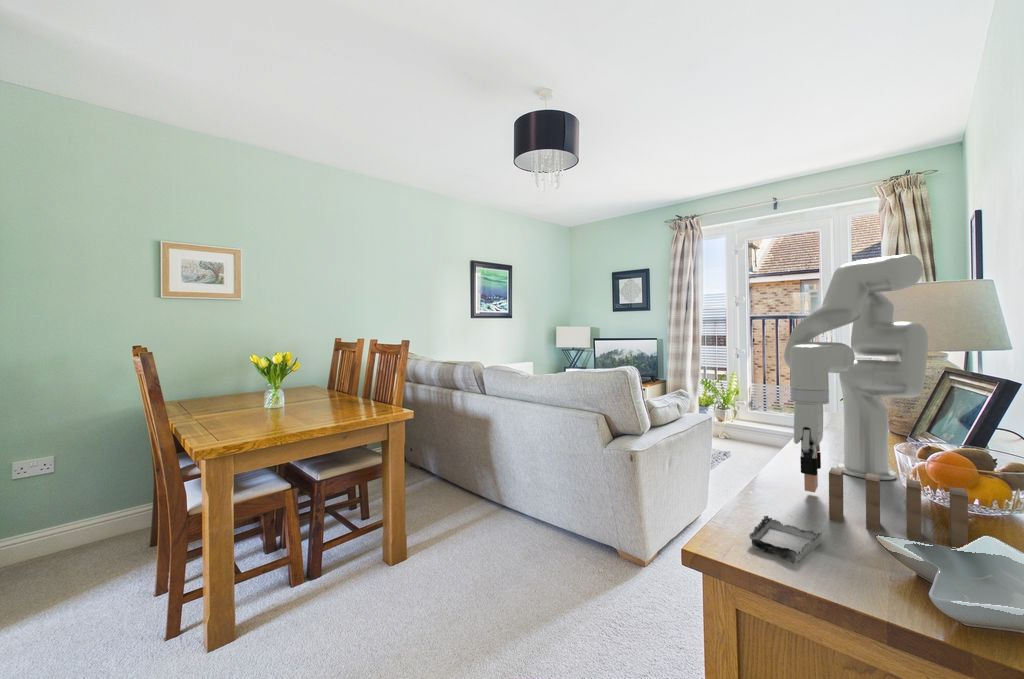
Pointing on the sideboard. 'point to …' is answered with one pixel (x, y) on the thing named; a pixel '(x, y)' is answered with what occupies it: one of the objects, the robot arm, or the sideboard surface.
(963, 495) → the domino
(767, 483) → the sideboard surface
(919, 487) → the domino
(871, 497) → the domino
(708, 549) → the sideboard surface
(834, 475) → the domino
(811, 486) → the domino
